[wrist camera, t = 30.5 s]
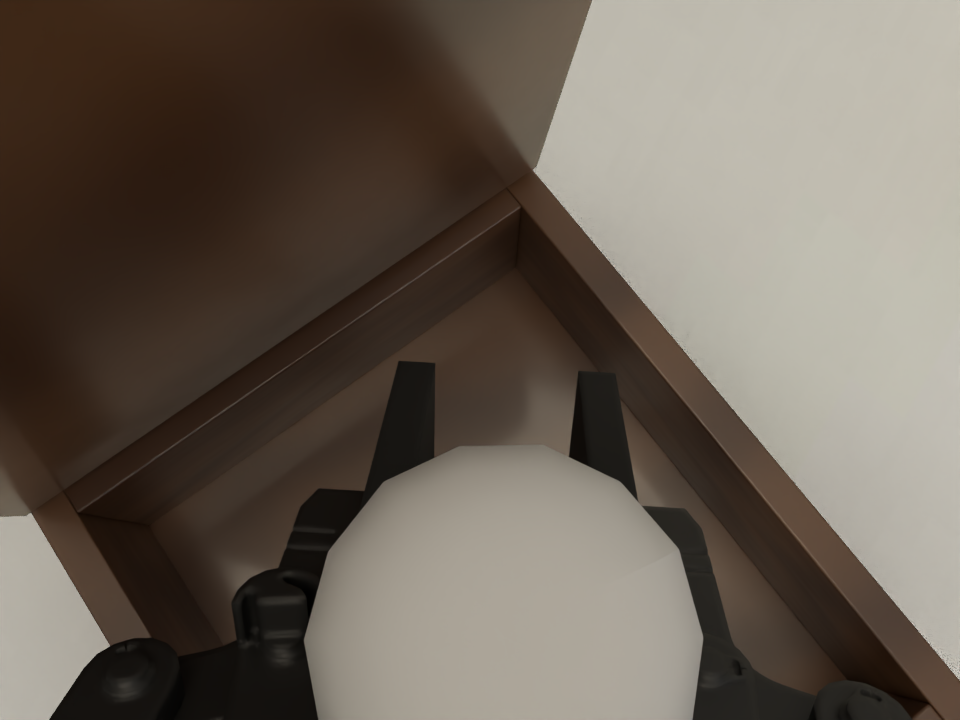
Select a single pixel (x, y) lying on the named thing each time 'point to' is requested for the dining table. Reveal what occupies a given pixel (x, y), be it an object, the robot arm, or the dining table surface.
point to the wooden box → (478, 422)
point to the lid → (229, 187)
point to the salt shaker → (503, 598)
